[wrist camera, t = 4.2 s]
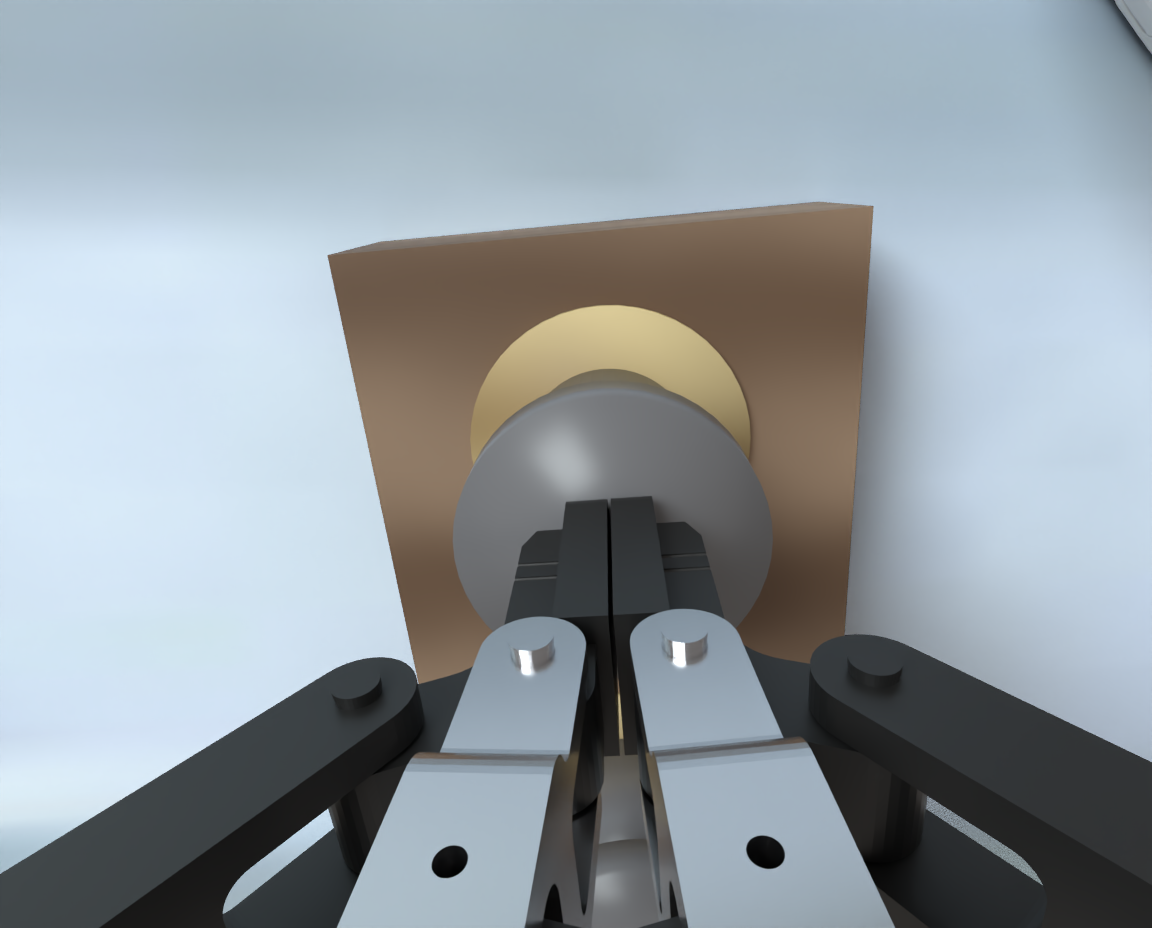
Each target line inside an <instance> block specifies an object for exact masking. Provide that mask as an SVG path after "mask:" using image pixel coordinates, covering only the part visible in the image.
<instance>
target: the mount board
mask: <svg viewBox="0 0 1152 928" xmlns="http://www.w3.org/2000/svg"><path fill="white" fill-rule="evenodd" d="M872 219H873V206H865V205H853V204H840V203H827V202H812V203H801V204H790V205H779V206H768V207H757V208H746V209H735V210H724V211H713V212H702V213H691V214H680V215H669V216H658V217H647V218H636V219H625V220H614V221H603V222H592V223H581V224H570V225H559V226H548V227H537V228H526V229H515V230H504V231H493V232H482V233H471V234H460V235H449V236H438V237H427V238H416V239H405V240H394V241H383V242H378V243H374V244H370V245H366V246H362V247H358V248H354V249H350V250H346V251H343V252H339V253H335V254H331V255H328V259H329V264H330V269H331V274H332V278H333V283H334V288H335V292H336V297H337V302H338V306H339V311H340V316H341V321H342V325H343V330H344V335H345V339H346V344H347V349H348V353H349V358H350V363H351V368H352V372H353V377H354V382H355V386H356V391H357V396H358V401H359V405H360V410H361V415H362V419H363V424H364V429H365V433H366V438H367V443H368V448H369V452H370V457H371V462H372V466H373V471H374V476H375V480H376V485H377V490H378V495H379V499H380V504H381V509H382V513H383V518H384V523H385V527H386V532H387V537H388V542H389V546H390V551H391V556H392V560H393V565H394V570H395V574H396V579H397V584H398V589H399V593H400V598H401V603H402V607H403V612H404V617H405V621H406V626H407V631H408V636H409V640H410V645H411V650H412V654H413V659H414V664H415V668H416V673H417V678H418V683H419V684H421V683H425V682H428V681H432V680H436V679H439V678H443V677H447V676H450V675H453V674H456V673H459V672H462V671H464V670H466V669H469V668H471V667H472V666H473V665H474V662H475V660H476V657H477V654H478V652H479V649H480V647H481V645H482V643H483V642H484V640H485V639H486V638H487V637H488V636H489V635H490V634H491V633H492V632H493V631H492V630H491V629H490V628H489V627H488V626H487V625H486V624H485V622H484V621H483V620H482V618H481V617H480V616H479V615H478V613H477V612H476V611H475V609H474V607H473V606H472V604H471V602H470V600H469V599H468V597H467V595H466V593H465V591H464V588H463V586H462V583H461V581H460V579H459V575H458V571H457V567H456V563H455V559H454V549H453V525H454V518H455V513H456V508H457V504H458V501H459V498H460V495H461V493H462V490H463V487H464V485H465V483H466V480H467V478H468V476H469V474H470V472H471V469H472V467H473V465H474V463H475V461H476V459H477V458H478V456H479V454H480V452H481V450H482V448H483V447H484V445H485V444H486V443H487V441H488V440H489V439H490V437H491V436H492V435H493V433H494V432H495V431H496V430H497V429H498V428H499V427H500V426H501V425H502V424H503V423H504V422H505V421H506V420H507V419H508V418H509V417H511V416H512V415H513V414H514V413H516V412H517V411H518V410H520V409H521V408H522V407H524V406H525V405H527V404H529V403H531V402H532V401H534V400H536V399H537V398H539V397H541V396H544V395H546V394H548V393H550V392H551V391H552V390H553V389H554V388H556V387H557V386H558V385H560V384H561V383H562V382H564V381H566V380H568V379H569V378H571V377H574V376H576V375H578V374H581V373H584V372H588V371H591V370H598V369H621V370H627V371H631V372H635V373H638V374H641V375H643V376H646V377H648V378H650V379H652V380H653V381H655V382H657V383H658V384H659V385H661V386H662V387H664V388H665V389H666V390H668V391H671V392H674V393H676V394H679V395H681V396H683V397H685V398H687V399H688V400H690V401H692V402H694V403H696V404H697V405H699V406H701V407H702V408H703V409H705V410H706V411H707V412H709V413H710V414H711V415H713V416H714V417H715V418H716V419H717V420H718V421H719V422H720V423H721V424H722V425H723V426H724V427H725V428H726V429H727V430H728V431H729V432H730V433H731V434H732V436H733V437H734V438H735V440H736V441H737V442H738V444H739V445H740V446H741V448H742V450H743V452H744V454H745V455H746V457H747V459H748V461H749V463H750V465H751V466H752V468H753V470H754V472H755V474H756V476H757V478H758V480H759V482H760V483H761V486H762V488H763V491H764V494H765V496H766V499H767V502H768V506H769V510H770V515H771V520H772V533H773V545H772V555H771V562H770V566H769V570H768V574H767V578H766V580H765V582H764V585H763V587H762V590H761V592H760V595H759V596H758V598H757V600H756V601H755V603H754V605H753V607H752V608H751V610H750V611H749V613H748V614H747V615H746V617H745V618H744V619H743V620H742V622H741V623H740V624H739V625H738V626H737V627H736V628H735V629H736V630H737V632H738V634H739V636H740V638H741V640H742V643H743V644H744V645H745V646H747V647H749V648H750V649H752V650H754V651H757V652H759V653H761V654H764V655H768V656H771V657H775V658H780V659H785V660H791V661H797V662H803V663H809V664H810V659H811V656H812V654H813V652H814V651H815V649H816V648H817V647H818V646H820V645H821V644H822V643H824V642H826V641H828V640H830V639H833V638H836V637H840V636H844V633H845V618H846V603H847V589H848V574H849V559H850V544H851V530H852V515H853V500H854V485H855V470H856V456H857V441H858V426H859V411H860V397H861V382H862V367H863V352H864V338H865V323H866V308H867V293H868V279H869V264H870V249H871V234H872ZM618 704H619V739H623V728H622V716H621V704H620V691H619V679H618Z"/></svg>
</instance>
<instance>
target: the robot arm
mask: <svg viewBox="0 0 1152 928" xmlns="http://www.w3.org/2000/svg"><path fill="white" fill-rule="evenodd" d="M611 539H612V550H611ZM617 667H618V670H617ZM618 679H619V691H620V704H621V716H622V728H623V740H624V753H625V755H638V763H639V775H640V789H641V803H642V812H643V819H644V825H645V832H646V838H647V845H648V851H649V858H650V865H651V871H652V878H653V884H654V891H655V898H656V904H657V911H658V917H659V922H656V923H653V924H649V925H646V926H642V927H639V928H1152V762H1150V761H1148V760H1146V759H1144V758H1142V757H1139V756H1137V755H1135V754H1133V753H1131V752H1129V751H1127V750H1125V749H1123V748H1121V747H1119V746H1116V745H1114V744H1112V743H1110V742H1108V741H1106V740H1104V739H1102V738H1100V737H1098V736H1096V735H1093V734H1091V733H1089V732H1087V731H1085V730H1083V729H1081V728H1079V727H1077V726H1075V725H1073V724H1070V723H1068V722H1066V721H1064V720H1062V719H1060V718H1058V717H1056V716H1054V715H1052V714H1050V713H1047V712H1045V711H1043V710H1041V709H1039V708H1037V707H1035V706H1033V705H1031V704H1029V703H1027V702H1024V701H1022V700H1020V699H1018V698H1016V697H1014V696H1012V695H1010V694H1008V693H1006V692H1004V691H1001V690H999V689H997V688H995V687H993V686H991V685H989V684H987V683H985V682H983V681H981V680H978V679H976V678H974V677H972V676H970V675H968V674H966V673H964V672H962V671H960V670H958V669H955V668H953V667H951V666H949V665H947V664H945V663H943V662H941V661H939V660H937V659H935V658H932V657H930V656H928V655H926V654H924V653H922V652H920V651H918V650H916V649H914V648H912V647H909V646H907V645H905V644H902V643H900V642H898V641H895V640H891V639H888V638H884V637H879V636H872V635H845V636H840V637H836V638H833V639H830V640H828V641H826V642H824V643H822V644H821V645H820V646H818V647H817V648H816V649H815V651H814V652H813V654H812V656H811V659H810V664H809V663H803V662H797V661H791V660H785V659H780V658H775V657H771V656H768V655H764V654H761V653H759V652H757V651H754V650H752V649H750V648H749V647H747V646H745V645H744V644H743V643H742V640H741V638H740V636H739V634H738V632H737V630H736V629H735V628H734V627H733V626H732V625H731V624H730V623H729V622H728V621H726V620H725V618H724V615H723V611H722V608H721V604H720V600H719V597H718V593H717V590H716V586H715V583H714V579H713V575H712V572H711V570H710V565H709V561H708V557H707V555H706V550H705V547H704V543H703V539H702V536H701V534H699V533H698V532H697V531H696V530H695V529H693V528H692V527H691V526H690V525H689V524H687V523H686V522H685V521H684V522H668V523H656V518H655V512H654V505H653V499H652V496H642V497H627V498H611V537H610V525H609V512H608V502H607V499H598V500H583V501H567V502H566V503H565V511H564V520H563V528H562V529H558V530H542V531H537V532H536V533H535V534H534V535H533V536H532V537H531V538H530V539H529V540H528V541H527V542H526V543H525V544H524V545H523V546H522V548H521V552H520V557H519V561H518V567H517V570H516V575H515V581H514V584H513V588H512V592H511V597H510V601H509V606H508V610H507V615H506V619H505V624H504V626H502V627H500V628H498V629H497V630H495V631H494V632H492V633H491V634H490V635H489V636H488V637H487V638H486V639H485V640H484V642H483V643H482V645H481V647H480V649H479V652H478V654H477V657H476V660H475V662H474V665H473V666H472V667H471V668H469V669H466V670H464V671H462V672H459V673H456V674H453V675H450V676H447V677H443V678H439V679H436V680H432V681H428V682H425V683H421V684H418V683H417V678H416V675H415V673H414V671H413V670H412V668H411V667H410V666H408V665H407V664H406V663H404V662H402V661H400V660H396V659H392V658H384V657H378V658H367V659H362V660H357V661H354V662H351V663H348V664H345V665H343V666H340V667H338V668H336V669H334V670H332V671H330V672H329V673H327V674H325V675H324V676H322V677H320V678H319V679H317V680H315V681H314V682H312V683H311V684H309V685H307V686H306V687H304V688H302V689H301V690H299V691H298V692H296V693H294V694H293V695H291V696H289V697H288V698H286V699H284V700H283V701H281V702H280V703H278V704H276V705H275V706H273V707H271V708H270V709H268V710H267V711H265V712H263V713H262V714H260V715H258V716H257V717H255V718H254V719H252V720H250V721H249V722H247V723H245V724H244V725H242V726H241V727H239V728H237V729H236V730H234V731H232V732H231V733H229V734H228V735H226V736H224V737H223V738H221V739H219V740H218V741H216V742H214V743H213V744H211V745H210V746H208V747H206V748H205V749H203V750H201V751H200V752H198V753H197V754H195V755H193V756H192V757H190V758H188V759H187V760H185V761H184V762H182V763H180V764H179V765H177V766H175V767H174V768H172V769H171V770H169V771H167V772H166V773H164V774H162V775H161V776H159V777H158V778H156V779H154V780H153V781H151V782H149V783H148V784H146V785H144V786H143V787H141V788H140V789H138V790H136V791H135V792H133V793H131V794H130V795H128V796H127V797H125V798H123V799H122V800H120V801H118V802H117V803H115V804H114V805H112V806H110V807H109V808H107V809H105V810H104V811H102V812H101V813H99V814H97V815H96V816H94V817H92V818H91V819H89V820H88V821H86V822H84V823H83V824H81V825H79V826H78V827H76V828H74V829H73V830H71V831H70V832H68V833H66V834H65V835H63V836H61V837H60V838H58V839H57V840H55V841H53V842H52V843H50V844H48V845H47V846H45V847H44V848H42V849H40V850H39V851H37V852H35V853H34V854H32V855H31V856H29V857H27V858H26V859H24V860H22V861H21V862H19V863H18V864H16V865H14V866H13V867H11V868H9V869H8V870H6V871H4V872H3V873H1V874H0V928H591V926H592V915H593V905H594V894H595V883H596V872H597V861H598V850H599V839H600V828H601V817H602V796H601V788H602V785H603V782H604V756H620V739H619V704H618ZM927 796H929V797H930V798H932V799H933V800H935V801H936V802H938V803H940V804H941V805H943V806H944V807H946V808H947V809H949V810H951V811H952V812H954V813H955V814H957V815H958V816H960V817H961V818H963V819H965V820H966V821H968V822H969V823H971V824H972V825H974V826H976V827H977V828H979V829H980V830H982V831H983V832H985V833H987V834H988V835H990V836H991V837H993V838H994V839H996V840H997V841H999V842H1001V843H1002V844H1004V845H1005V846H1007V847H1008V848H1010V849H1011V850H1013V851H1014V852H1016V853H1017V854H1018V855H1019V856H1020V857H1022V858H1023V859H1024V860H1025V861H1026V862H1027V863H1028V864H1029V865H1030V866H1031V868H1032V869H1033V870H1034V871H1035V873H1036V874H1037V876H1038V877H1039V879H1040V880H1041V882H1042V884H1043V885H1041V884H1040V883H1038V882H1036V881H1035V880H1033V879H1032V878H1030V877H1029V876H1027V875H1026V874H1024V873H1023V872H1021V871H1020V870H1018V869H1017V868H1015V867H1014V866H1012V865H1011V864H1009V863H1007V862H1006V861H1004V860H1003V859H1001V858H1000V857H998V856H997V855H995V854H994V853H992V852H991V851H989V850H988V849H986V848H985V847H983V846H982V845H980V844H978V843H977V842H975V841H974V840H972V839H971V838H969V837H968V836H966V835H965V834H963V833H962V832H960V831H959V830H957V829H956V828H954V827H953V826H951V825H949V824H948V823H946V822H945V821H943V820H942V819H940V818H939V817H937V816H936V815H934V814H933V813H931V812H930V811H928V810H927V809H926V803H927ZM326 809H329V813H330V816H331V819H332V823H333V826H334V829H332V830H331V831H330V832H328V833H327V834H326V835H325V836H323V837H322V838H321V839H320V840H318V841H317V842H316V843H315V844H313V845H312V846H311V847H310V848H308V849H307V850H306V851H305V852H303V853H302V854H301V855H299V856H298V857H297V858H296V859H294V860H293V861H292V862H291V863H289V864H288V865H287V866H286V867H284V868H283V869H282V870H281V871H279V872H278V873H277V874H276V875H274V876H273V877H272V878H270V879H269V880H268V881H267V882H265V883H264V884H263V885H262V886H260V887H259V888H258V889H257V890H255V891H254V892H253V893H252V894H250V895H249V896H248V897H247V898H245V899H244V900H243V901H242V902H240V903H239V904H238V905H236V906H235V907H234V908H232V909H231V910H230V911H228V912H226V913H224V914H223V907H224V903H225V900H226V898H227V896H228V894H229V892H230V890H231V888H232V887H233V885H234V884H235V883H236V882H237V880H238V879H239V878H240V877H241V876H242V875H243V874H244V873H245V872H246V871H247V870H248V869H250V868H251V867H252V866H253V865H255V864H256V863H257V862H259V861H260V860H261V859H262V858H264V857H265V856H266V855H268V854H269V853H270V852H272V851H273V850H274V849H276V848H277V847H278V846H279V845H281V844H282V843H283V842H285V841H286V840H287V839H289V838H290V837H291V836H293V835H294V834H295V833H296V832H298V831H299V830H300V829H302V828H303V827H304V826H306V825H307V824H308V823H309V822H311V821H312V820H313V819H315V818H316V817H317V816H319V815H320V814H321V813H323V812H324V811H325V810H326Z"/></svg>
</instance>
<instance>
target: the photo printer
mask: <svg viewBox="0 0 1152 928" xmlns="http://www.w3.org/2000/svg"><path fill="white" fill-rule="evenodd" d="M1115 2H1116V4H1117V6H1118V7H1119V9H1120V10H1121V12H1122V13H1123V15H1124V16H1125V17H1126V19H1127V20H1128V22H1129V23H1130V25H1131V26H1132V27H1133V29H1134V30H1135V32H1136V33H1137V35H1138V36H1139V37H1140V39H1141V40H1142V42H1143V43H1144V44H1145V46H1146V47H1147V49H1148V50H1149V51H1150V52H1151V54H1152V0H1115Z"/></svg>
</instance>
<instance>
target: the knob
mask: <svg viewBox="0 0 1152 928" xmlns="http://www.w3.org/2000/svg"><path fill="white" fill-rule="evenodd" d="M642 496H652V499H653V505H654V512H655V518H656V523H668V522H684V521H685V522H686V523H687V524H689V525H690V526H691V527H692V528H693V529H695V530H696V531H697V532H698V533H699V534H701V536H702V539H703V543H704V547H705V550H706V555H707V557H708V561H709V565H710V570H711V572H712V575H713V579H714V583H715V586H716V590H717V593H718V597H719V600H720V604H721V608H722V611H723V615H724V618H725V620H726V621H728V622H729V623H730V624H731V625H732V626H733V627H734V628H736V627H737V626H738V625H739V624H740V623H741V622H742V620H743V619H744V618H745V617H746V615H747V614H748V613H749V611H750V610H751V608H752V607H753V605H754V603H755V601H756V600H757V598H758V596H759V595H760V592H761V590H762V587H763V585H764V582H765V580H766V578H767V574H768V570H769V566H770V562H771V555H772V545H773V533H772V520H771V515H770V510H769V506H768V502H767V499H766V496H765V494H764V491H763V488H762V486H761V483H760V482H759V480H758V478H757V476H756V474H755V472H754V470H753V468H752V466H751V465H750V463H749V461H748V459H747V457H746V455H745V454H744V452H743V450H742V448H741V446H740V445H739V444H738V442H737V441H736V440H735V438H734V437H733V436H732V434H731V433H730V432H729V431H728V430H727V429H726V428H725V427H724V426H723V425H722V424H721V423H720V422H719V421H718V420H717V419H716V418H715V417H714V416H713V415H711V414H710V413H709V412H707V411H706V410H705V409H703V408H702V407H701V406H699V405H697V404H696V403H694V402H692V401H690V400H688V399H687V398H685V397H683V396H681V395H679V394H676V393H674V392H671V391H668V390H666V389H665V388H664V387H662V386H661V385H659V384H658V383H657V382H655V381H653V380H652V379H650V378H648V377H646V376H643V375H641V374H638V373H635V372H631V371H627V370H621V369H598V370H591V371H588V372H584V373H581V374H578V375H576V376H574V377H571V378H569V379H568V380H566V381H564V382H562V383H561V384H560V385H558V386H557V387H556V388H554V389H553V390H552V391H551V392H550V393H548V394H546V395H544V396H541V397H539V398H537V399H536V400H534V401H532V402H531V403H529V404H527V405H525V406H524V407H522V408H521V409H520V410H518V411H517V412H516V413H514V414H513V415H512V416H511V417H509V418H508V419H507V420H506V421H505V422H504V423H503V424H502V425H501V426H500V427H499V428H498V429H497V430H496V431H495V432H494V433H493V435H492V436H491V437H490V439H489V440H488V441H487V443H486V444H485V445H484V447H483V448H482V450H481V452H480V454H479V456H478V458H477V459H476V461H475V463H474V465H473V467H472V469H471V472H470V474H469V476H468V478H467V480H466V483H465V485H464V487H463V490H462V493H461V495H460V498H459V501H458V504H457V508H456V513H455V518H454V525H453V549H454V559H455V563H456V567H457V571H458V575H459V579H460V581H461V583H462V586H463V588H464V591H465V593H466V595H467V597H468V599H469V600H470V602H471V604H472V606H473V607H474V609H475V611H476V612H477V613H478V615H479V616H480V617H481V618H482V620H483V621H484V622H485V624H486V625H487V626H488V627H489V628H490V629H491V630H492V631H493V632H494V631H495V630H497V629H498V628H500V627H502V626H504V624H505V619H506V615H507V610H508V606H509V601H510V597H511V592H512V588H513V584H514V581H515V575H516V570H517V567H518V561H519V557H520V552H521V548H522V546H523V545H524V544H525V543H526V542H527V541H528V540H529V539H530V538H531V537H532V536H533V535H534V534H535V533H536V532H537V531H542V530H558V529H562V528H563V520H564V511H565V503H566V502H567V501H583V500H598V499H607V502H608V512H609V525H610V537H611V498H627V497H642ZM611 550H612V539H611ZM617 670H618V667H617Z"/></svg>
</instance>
